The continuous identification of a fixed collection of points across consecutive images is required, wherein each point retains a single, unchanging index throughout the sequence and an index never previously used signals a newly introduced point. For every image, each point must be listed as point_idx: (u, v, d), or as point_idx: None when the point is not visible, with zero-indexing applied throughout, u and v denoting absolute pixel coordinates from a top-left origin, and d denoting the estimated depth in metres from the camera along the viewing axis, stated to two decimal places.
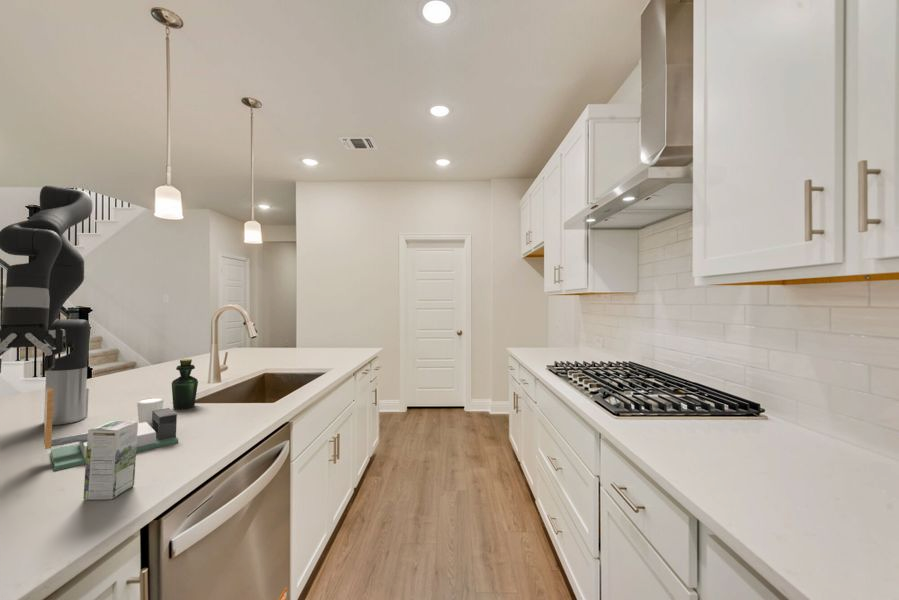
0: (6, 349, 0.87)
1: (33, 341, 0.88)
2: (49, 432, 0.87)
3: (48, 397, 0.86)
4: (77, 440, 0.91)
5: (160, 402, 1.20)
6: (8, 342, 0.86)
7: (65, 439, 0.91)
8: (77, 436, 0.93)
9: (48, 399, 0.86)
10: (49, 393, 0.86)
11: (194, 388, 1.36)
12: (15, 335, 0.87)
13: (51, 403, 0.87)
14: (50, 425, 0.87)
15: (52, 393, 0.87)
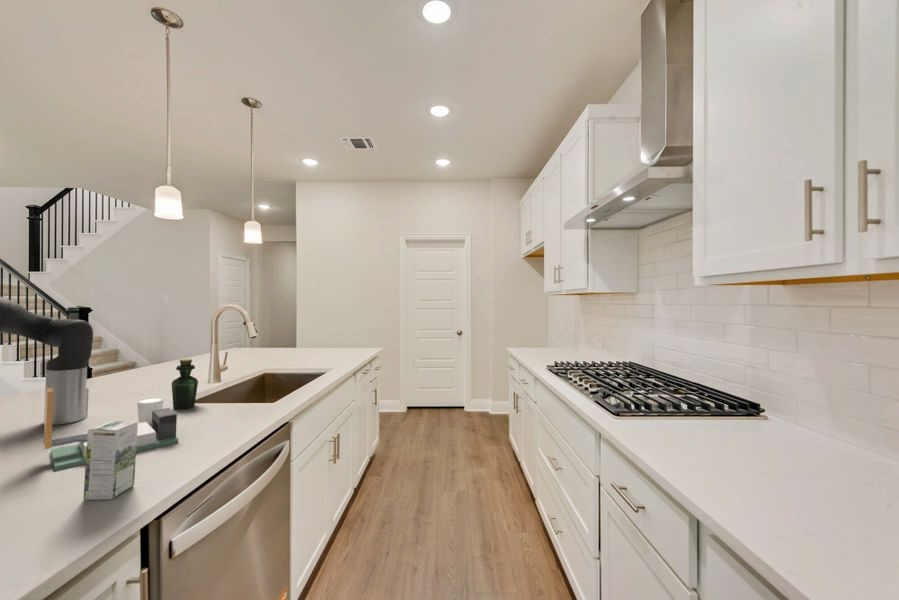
0: None
1: None
2: (49, 432, 0.87)
3: (48, 397, 0.86)
4: (77, 440, 0.91)
5: (160, 402, 1.20)
6: None
7: (65, 439, 0.91)
8: (77, 436, 0.93)
9: (48, 399, 0.86)
10: (49, 393, 0.86)
11: (194, 388, 1.36)
12: None
13: (51, 403, 0.87)
14: (50, 425, 0.87)
15: (52, 393, 0.87)
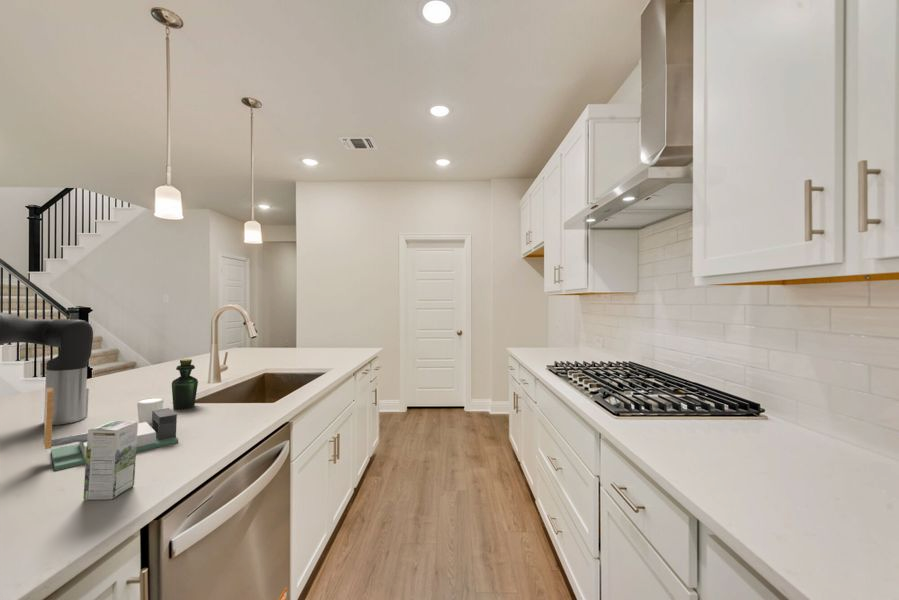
0: None
1: None
2: (49, 432, 0.87)
3: (48, 397, 0.86)
4: (77, 440, 0.91)
5: (160, 402, 1.20)
6: None
7: (65, 439, 0.91)
8: (77, 436, 0.93)
9: (48, 399, 0.86)
10: (49, 393, 0.86)
11: (194, 388, 1.36)
12: None
13: (51, 403, 0.87)
14: (50, 425, 0.87)
15: (52, 393, 0.87)
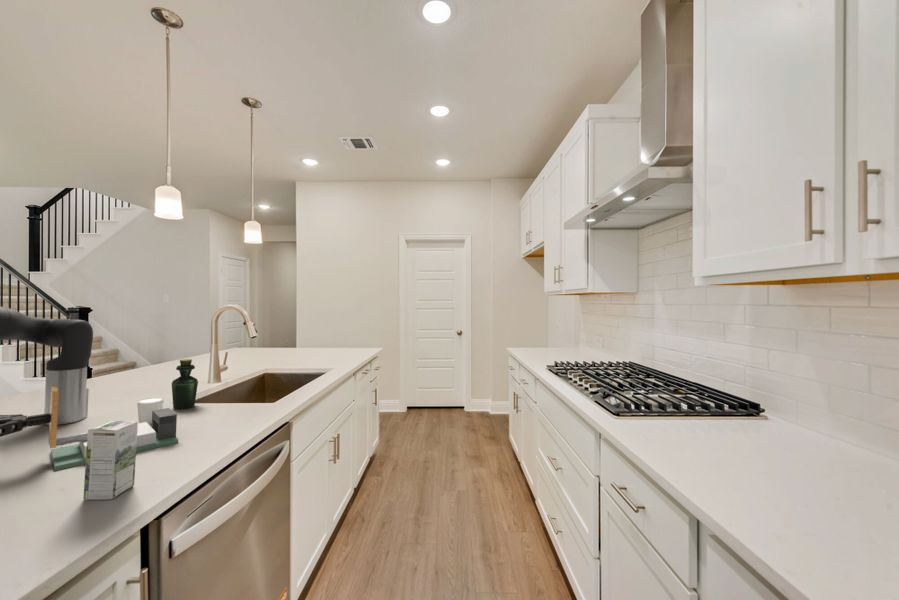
0: None
1: None
2: (54, 431, 0.87)
3: (53, 396, 0.87)
4: (82, 439, 0.92)
5: (160, 402, 1.20)
6: None
7: (69, 438, 0.91)
8: (81, 435, 0.94)
9: (53, 398, 0.87)
10: (54, 393, 0.87)
11: (194, 388, 1.36)
12: None
13: (56, 402, 0.87)
14: (55, 424, 0.87)
15: (57, 392, 0.87)
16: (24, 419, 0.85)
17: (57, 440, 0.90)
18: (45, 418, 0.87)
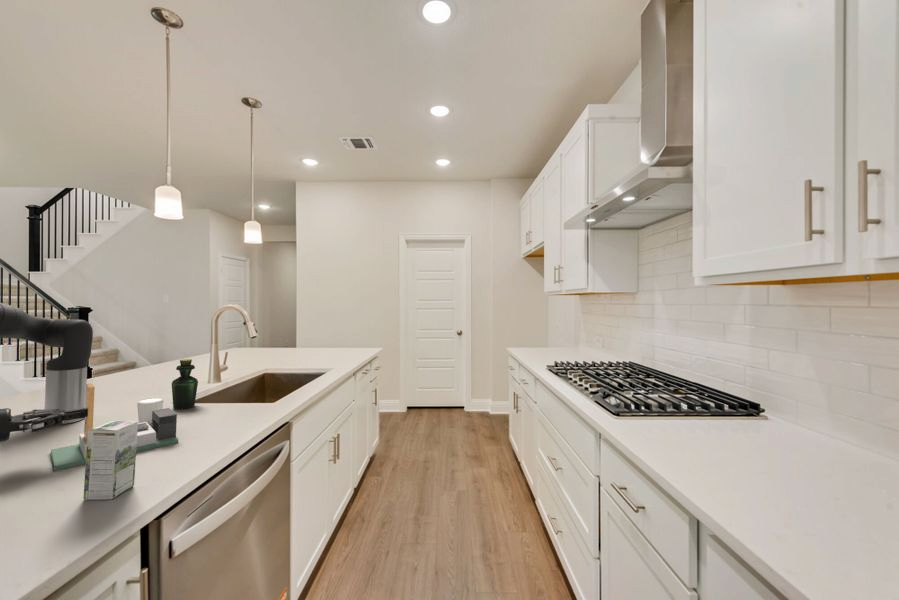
0: None
1: None
2: (90, 425, 0.92)
3: (89, 392, 0.92)
4: None
5: (160, 402, 1.20)
6: None
7: None
8: None
9: (89, 394, 0.92)
10: (90, 388, 0.92)
11: (194, 388, 1.36)
12: None
13: (92, 398, 0.92)
14: (91, 418, 0.92)
15: (93, 388, 0.92)
16: (63, 413, 0.89)
17: None
18: (82, 412, 0.92)
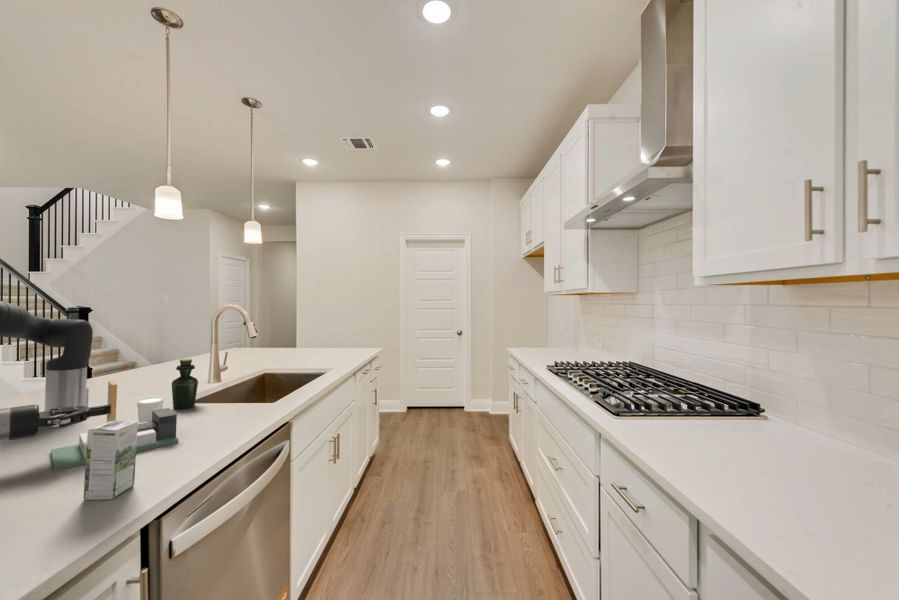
0: None
1: None
2: None
3: (112, 389, 0.95)
4: None
5: (160, 402, 1.20)
6: None
7: None
8: None
9: (112, 391, 0.95)
10: (113, 386, 0.95)
11: (194, 388, 1.36)
12: None
13: (115, 395, 0.96)
14: (114, 415, 0.95)
15: (116, 386, 0.96)
16: (87, 410, 0.93)
17: None
18: (105, 409, 0.95)
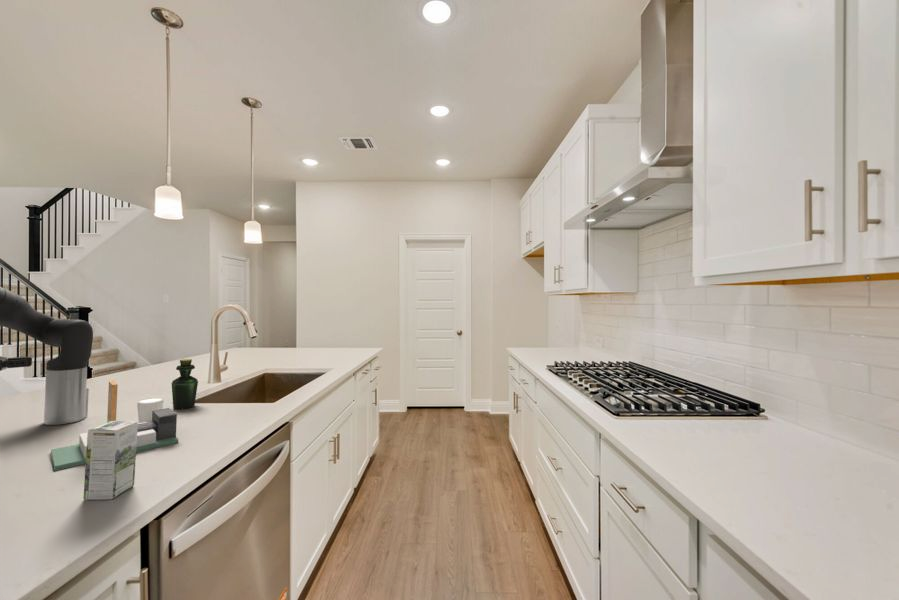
0: None
1: None
2: None
3: (113, 389, 0.95)
4: None
5: (160, 402, 1.20)
6: None
7: None
8: None
9: (113, 391, 0.95)
10: (113, 386, 0.95)
11: (194, 388, 1.36)
12: None
13: (115, 395, 0.96)
14: (114, 415, 0.96)
15: (116, 386, 0.96)
16: (3, 360, 0.82)
17: None
18: (26, 360, 0.84)
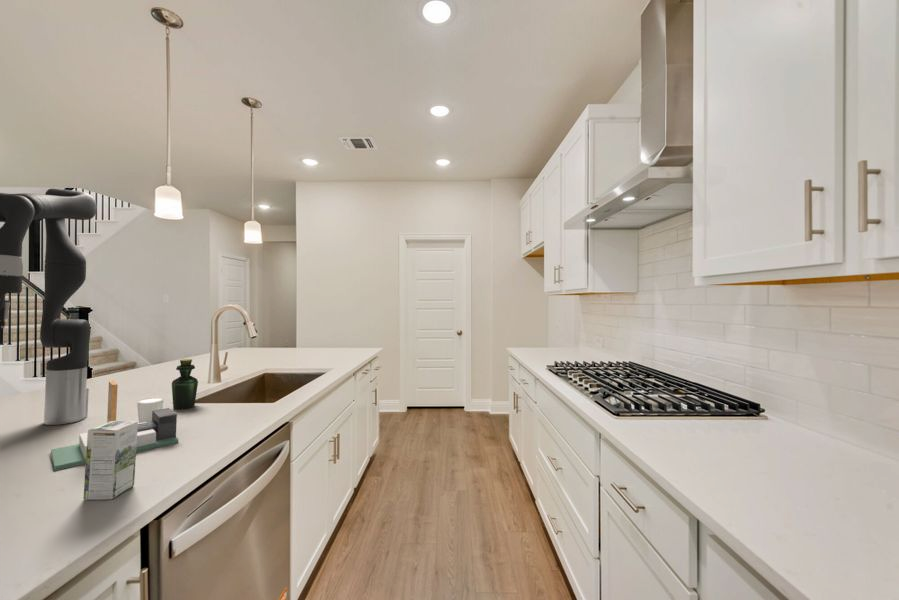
0: None
1: None
2: None
3: (113, 389, 0.95)
4: None
5: (160, 402, 1.20)
6: None
7: None
8: None
9: (113, 391, 0.95)
10: (113, 386, 0.95)
11: (194, 388, 1.36)
12: None
13: (115, 395, 0.96)
14: (114, 415, 0.96)
15: (116, 386, 0.96)
16: (2, 326, 0.88)
17: None
18: None
